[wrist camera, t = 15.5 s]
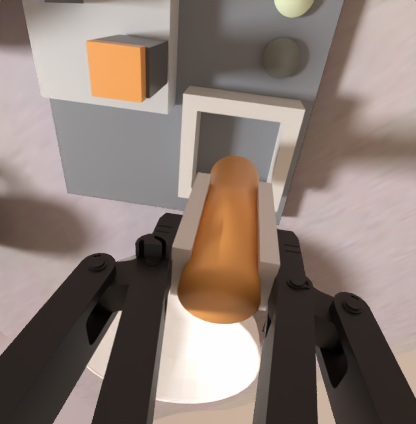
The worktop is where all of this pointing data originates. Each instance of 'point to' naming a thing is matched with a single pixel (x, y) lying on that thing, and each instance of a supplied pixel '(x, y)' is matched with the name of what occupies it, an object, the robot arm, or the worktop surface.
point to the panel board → (183, 92)
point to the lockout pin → (225, 248)
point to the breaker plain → (61, 1)
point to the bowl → (196, 356)
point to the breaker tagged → (127, 67)
